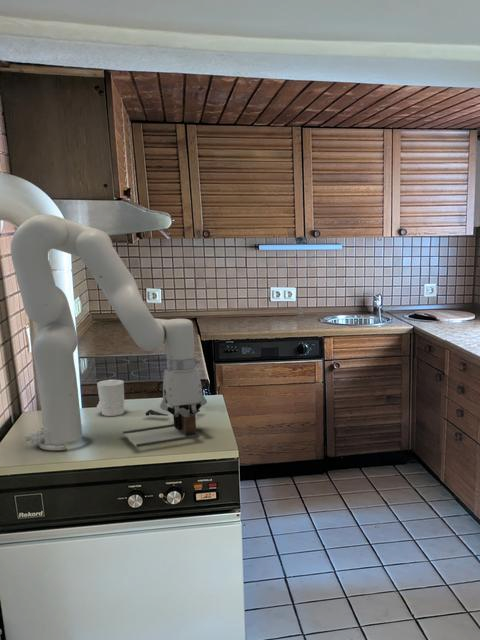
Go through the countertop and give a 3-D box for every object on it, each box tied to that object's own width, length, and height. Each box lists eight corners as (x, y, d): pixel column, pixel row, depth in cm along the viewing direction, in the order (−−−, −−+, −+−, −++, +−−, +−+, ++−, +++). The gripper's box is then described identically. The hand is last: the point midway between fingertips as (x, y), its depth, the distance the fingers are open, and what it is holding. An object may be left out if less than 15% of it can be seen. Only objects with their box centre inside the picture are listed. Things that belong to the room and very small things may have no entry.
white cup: (113, 408, 226) (110, 378, 223) (131, 412, 222) (129, 381, 220) (94, 414, 219) (91, 383, 216) (113, 418, 215) (110, 386, 213)
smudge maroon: (195, 434, 195) (196, 433, 195) (190, 431, 198) (191, 430, 198) (208, 438, 197) (209, 437, 197) (203, 434, 200) (204, 433, 200)
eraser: (186, 436, 193) (184, 417, 191) (174, 427, 201) (173, 409, 199) (196, 434, 194) (195, 415, 193) (184, 426, 202) (183, 407, 201)
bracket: (157, 412, 222) (157, 403, 222) (201, 415, 220) (201, 406, 219) (135, 425, 209) (134, 416, 208) (182, 428, 206) (181, 419, 205)
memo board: (137, 452, 184) (136, 444, 184) (123, 438, 196) (122, 431, 195) (199, 442, 193) (199, 435, 193) (182, 429, 205) (182, 422, 204)
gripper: (205, 359, 200) (208, 420, 205) (147, 364, 191) (152, 429, 196) (214, 363, 194) (217, 427, 199) (155, 369, 185) (160, 436, 190)
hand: (185, 427), depth 197 cm, fingers closed on eraser, 3 cm apart
